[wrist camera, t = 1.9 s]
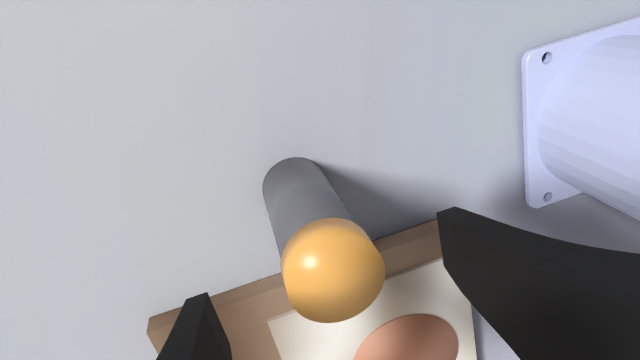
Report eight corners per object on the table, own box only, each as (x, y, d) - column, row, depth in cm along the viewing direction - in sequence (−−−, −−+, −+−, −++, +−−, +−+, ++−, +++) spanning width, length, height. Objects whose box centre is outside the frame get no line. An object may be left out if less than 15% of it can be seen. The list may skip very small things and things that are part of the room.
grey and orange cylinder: (319, 146, 19) (376, 223, 12) (334, 206, 20) (392, 303, 14) (251, 167, 18) (274, 257, 12) (271, 226, 20) (301, 336, 13)
